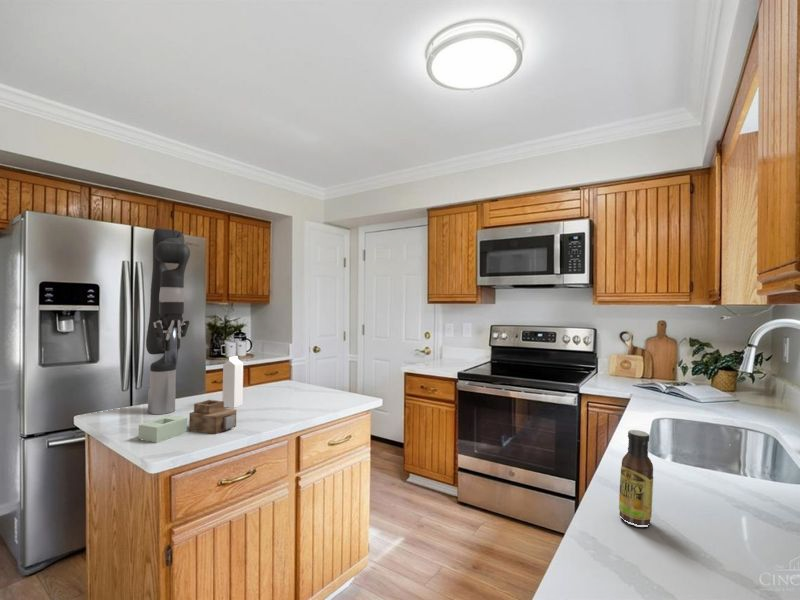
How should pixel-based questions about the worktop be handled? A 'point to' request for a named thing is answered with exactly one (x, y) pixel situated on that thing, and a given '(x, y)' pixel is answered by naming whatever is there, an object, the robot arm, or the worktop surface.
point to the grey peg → (172, 347)
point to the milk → (233, 382)
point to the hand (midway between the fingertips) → (170, 350)
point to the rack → (162, 428)
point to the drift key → (228, 421)
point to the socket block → (209, 416)
